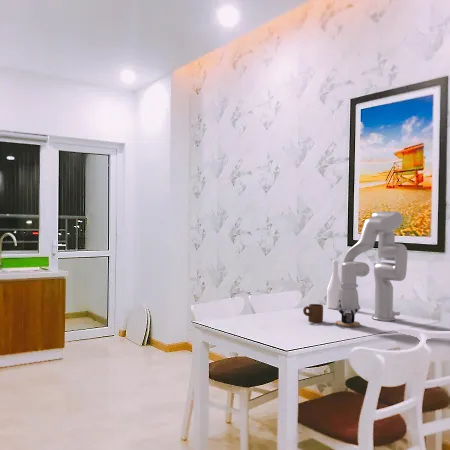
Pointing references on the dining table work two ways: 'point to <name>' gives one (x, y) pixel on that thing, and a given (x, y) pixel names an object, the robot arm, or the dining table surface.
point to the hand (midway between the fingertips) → (347, 322)
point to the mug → (314, 313)
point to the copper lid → (348, 321)
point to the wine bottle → (333, 287)
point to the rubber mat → (348, 327)
